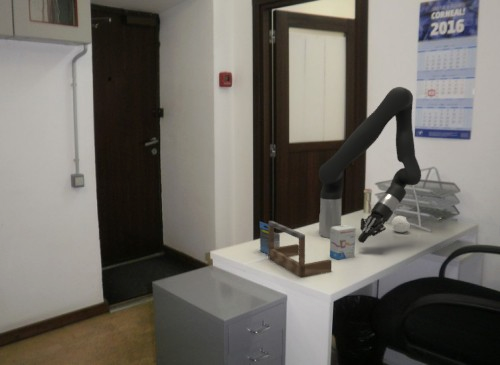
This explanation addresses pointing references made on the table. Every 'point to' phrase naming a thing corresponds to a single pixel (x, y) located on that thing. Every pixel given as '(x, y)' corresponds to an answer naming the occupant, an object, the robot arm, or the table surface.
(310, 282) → the table surface
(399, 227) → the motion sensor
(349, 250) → the ink box
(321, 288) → the table surface
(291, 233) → the frame
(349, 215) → the table surface
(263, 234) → the label tape cartridge
